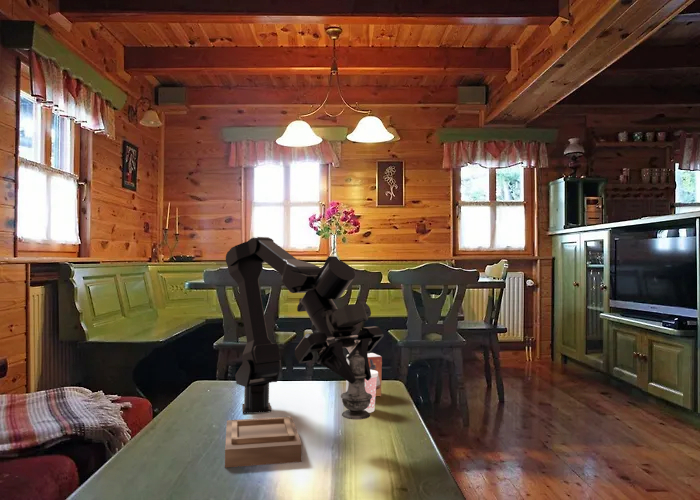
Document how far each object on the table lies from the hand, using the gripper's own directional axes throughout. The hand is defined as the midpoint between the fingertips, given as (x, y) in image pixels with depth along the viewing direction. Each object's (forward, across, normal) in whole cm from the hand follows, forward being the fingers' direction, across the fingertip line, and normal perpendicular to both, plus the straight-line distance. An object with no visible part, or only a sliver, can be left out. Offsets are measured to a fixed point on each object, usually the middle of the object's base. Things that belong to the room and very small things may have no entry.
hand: (361, 380), depth 93 cm
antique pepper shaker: (+4, 0, +6) cm, 7 cm away
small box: (-10, +29, +30) cm, 43 cm away
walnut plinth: (0, -12, +19) cm, 23 cm away
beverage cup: (-4, +19, +23) cm, 30 cm away
